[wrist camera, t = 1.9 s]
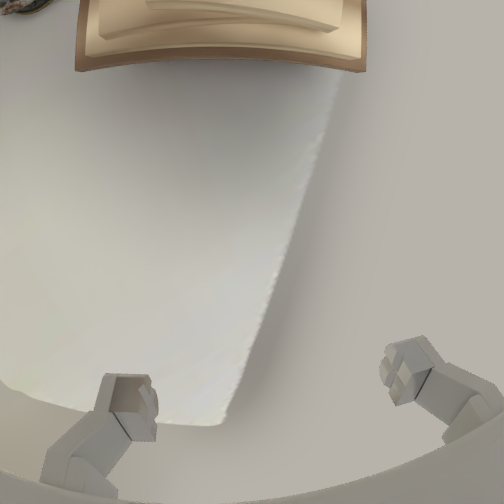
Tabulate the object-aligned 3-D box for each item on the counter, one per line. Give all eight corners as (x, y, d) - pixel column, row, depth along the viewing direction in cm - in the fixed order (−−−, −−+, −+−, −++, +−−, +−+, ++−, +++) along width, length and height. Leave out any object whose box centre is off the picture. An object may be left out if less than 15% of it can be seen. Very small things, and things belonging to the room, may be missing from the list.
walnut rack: (302, 79, 33) (365, 71, 20) (122, 81, 30) (74, 70, 16) (305, -5, 27) (363, -49, 14) (128, -7, 24) (92, -59, 10)
